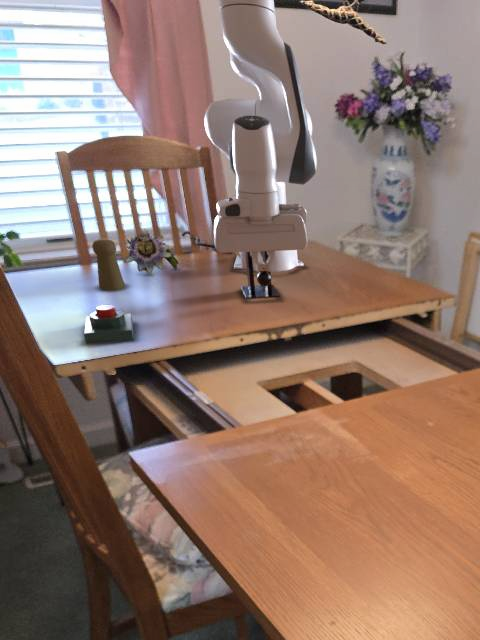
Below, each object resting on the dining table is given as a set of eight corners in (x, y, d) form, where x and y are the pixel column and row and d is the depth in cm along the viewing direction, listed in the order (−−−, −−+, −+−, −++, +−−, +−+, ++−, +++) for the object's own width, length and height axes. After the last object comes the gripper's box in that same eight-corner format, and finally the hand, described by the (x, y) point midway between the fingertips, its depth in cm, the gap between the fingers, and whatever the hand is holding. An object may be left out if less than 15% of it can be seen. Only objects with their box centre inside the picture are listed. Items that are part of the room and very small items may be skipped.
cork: (129, 284, 175) (120, 237, 168) (119, 291, 170) (109, 243, 163) (105, 283, 175) (96, 236, 169) (94, 290, 170) (84, 241, 164)
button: (97, 313, 145) (95, 305, 144) (116, 312, 146) (114, 304, 145) (97, 319, 142) (95, 310, 141) (116, 318, 143) (114, 309, 142)
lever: (272, 289, 161) (272, 278, 159) (258, 289, 161) (258, 278, 158) (262, 249, 167) (262, 238, 164) (248, 249, 166) (248, 238, 163)
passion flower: (153, 295, 186) (119, 260, 177) (149, 276, 193) (115, 241, 184) (187, 269, 184) (153, 232, 175) (181, 251, 191) (149, 215, 182)
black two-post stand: (280, 300, 168) (276, 244, 161) (246, 302, 166) (241, 245, 159) (273, 289, 176) (270, 234, 168) (241, 291, 173) (236, 236, 166)
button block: (88, 326, 149) (84, 307, 147) (133, 323, 152) (129, 304, 149) (86, 344, 141) (81, 324, 138) (133, 341, 143) (130, 321, 141)
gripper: (303, 201, 157) (306, 265, 165) (209, 203, 151) (216, 269, 159) (309, 206, 152) (311, 272, 160) (211, 208, 146) (219, 277, 154)
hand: (263, 271), depth 159 cm, fingers closed, pressing on lever
